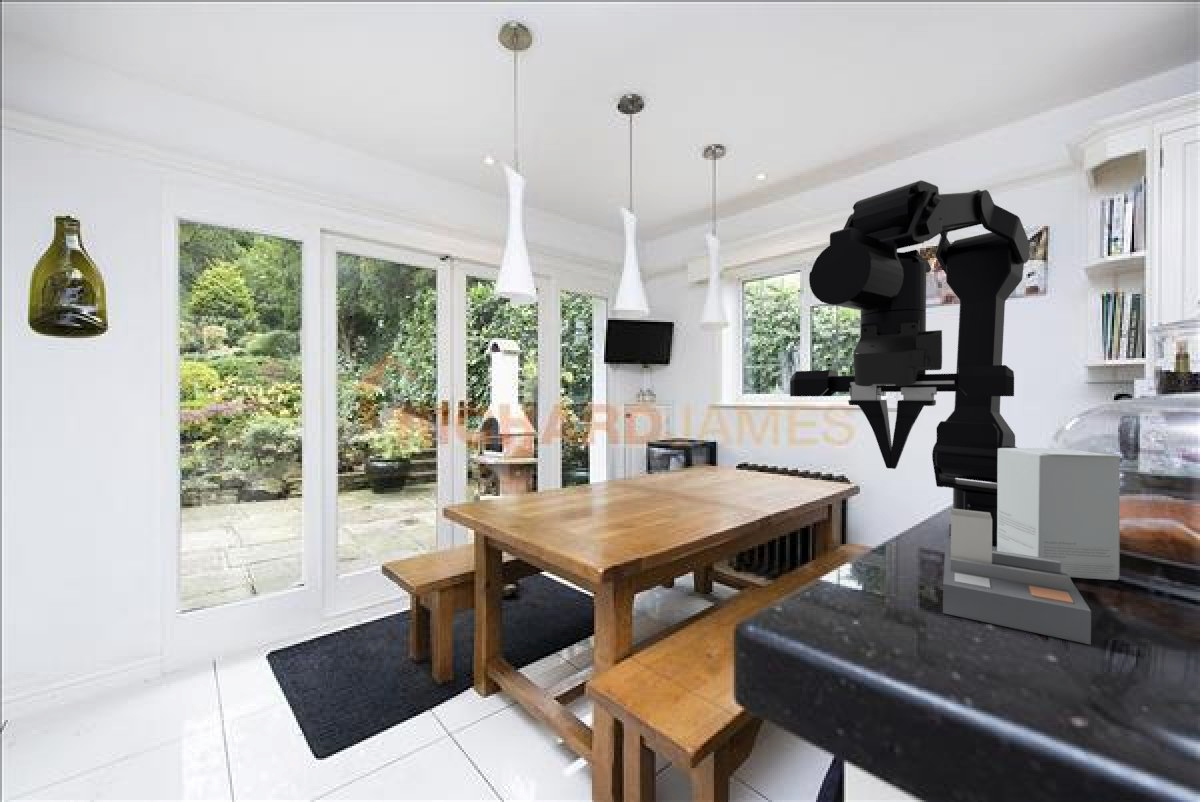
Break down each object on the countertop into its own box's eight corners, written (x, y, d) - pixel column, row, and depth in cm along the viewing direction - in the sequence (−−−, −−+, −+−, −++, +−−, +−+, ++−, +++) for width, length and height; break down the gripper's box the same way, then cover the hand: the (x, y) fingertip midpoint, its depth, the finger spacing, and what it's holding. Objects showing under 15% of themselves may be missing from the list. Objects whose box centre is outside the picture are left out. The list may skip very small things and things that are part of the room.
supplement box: (1122, 581, 49) (1124, 455, 48) (1036, 576, 50) (1038, 453, 50) (1068, 557, 56) (1069, 447, 56) (994, 553, 57) (995, 446, 57)
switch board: (945, 566, 53) (945, 534, 53) (1058, 585, 48) (1058, 549, 48) (942, 613, 42) (943, 572, 42) (1090, 644, 36) (1091, 597, 36)
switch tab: (950, 556, 48) (951, 508, 48) (989, 562, 46) (990, 512, 46) (950, 565, 46) (951, 514, 46) (991, 572, 44) (992, 519, 44)
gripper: (775, 313, 49) (774, 470, 49) (1022, 289, 38) (1020, 491, 38) (803, 326, 58) (802, 458, 58) (1008, 309, 47) (1007, 472, 47)
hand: (891, 468), depth 50 cm, fingers closed
